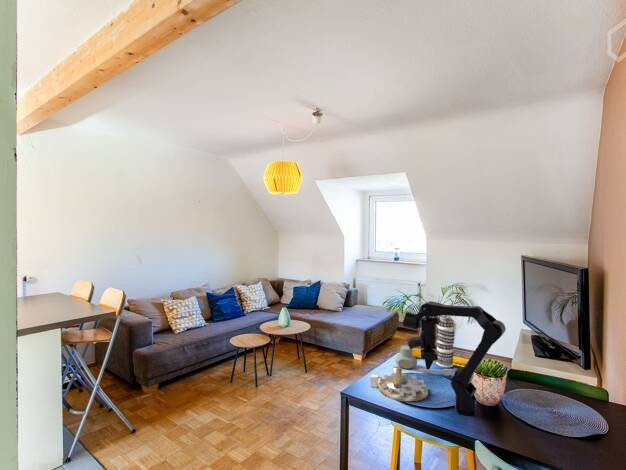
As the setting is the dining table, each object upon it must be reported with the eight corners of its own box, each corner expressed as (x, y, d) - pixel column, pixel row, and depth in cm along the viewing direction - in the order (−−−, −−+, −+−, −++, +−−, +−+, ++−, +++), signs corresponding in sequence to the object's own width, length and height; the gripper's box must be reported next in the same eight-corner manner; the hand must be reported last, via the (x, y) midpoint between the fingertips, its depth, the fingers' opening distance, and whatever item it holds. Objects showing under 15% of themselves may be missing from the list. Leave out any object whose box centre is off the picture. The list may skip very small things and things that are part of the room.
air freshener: (417, 365, 181) (418, 346, 181) (416, 371, 173) (416, 351, 173) (396, 362, 185) (396, 343, 185) (394, 367, 177) (394, 348, 177)
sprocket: (435, 390, 148) (436, 368, 148) (400, 400, 139) (401, 376, 139) (404, 373, 165) (404, 353, 165) (371, 381, 156) (372, 360, 156)
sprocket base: (426, 383, 160) (426, 380, 160) (429, 405, 139) (429, 401, 139) (380, 377, 165) (380, 374, 165) (376, 397, 145) (376, 394, 145)
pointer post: (381, 386, 156) (382, 375, 156) (381, 388, 154) (381, 378, 154) (371, 384, 157) (371, 374, 157) (370, 386, 155) (370, 376, 155)
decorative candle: (433, 360, 188) (434, 314, 188) (451, 361, 187) (452, 315, 187) (437, 367, 179) (438, 319, 178) (456, 368, 178) (457, 319, 177)
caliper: (459, 381, 163) (460, 368, 163) (459, 382, 162) (459, 368, 162) (416, 370, 174) (417, 358, 174) (416, 371, 174) (416, 359, 173)
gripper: (408, 324, 155) (407, 359, 156) (408, 336, 137) (407, 375, 138) (434, 326, 152) (434, 362, 153) (438, 339, 134) (437, 379, 135)
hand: (427, 369), depth 145 cm, fingers closed
